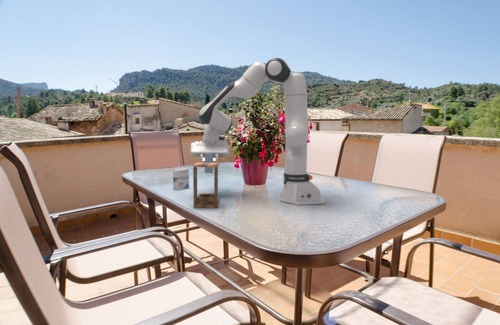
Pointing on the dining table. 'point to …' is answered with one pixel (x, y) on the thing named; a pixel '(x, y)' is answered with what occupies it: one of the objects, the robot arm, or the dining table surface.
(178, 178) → the ink box
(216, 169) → the wooden frame stand
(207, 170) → the peg
